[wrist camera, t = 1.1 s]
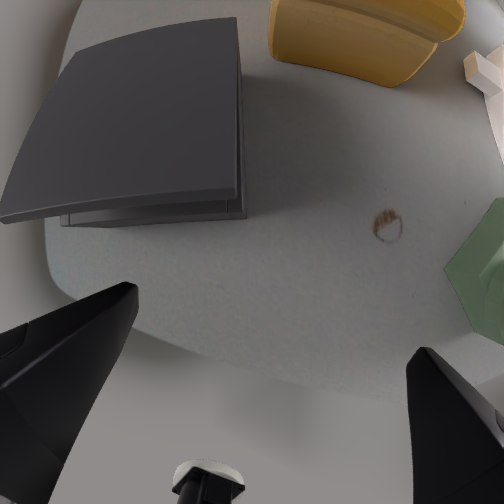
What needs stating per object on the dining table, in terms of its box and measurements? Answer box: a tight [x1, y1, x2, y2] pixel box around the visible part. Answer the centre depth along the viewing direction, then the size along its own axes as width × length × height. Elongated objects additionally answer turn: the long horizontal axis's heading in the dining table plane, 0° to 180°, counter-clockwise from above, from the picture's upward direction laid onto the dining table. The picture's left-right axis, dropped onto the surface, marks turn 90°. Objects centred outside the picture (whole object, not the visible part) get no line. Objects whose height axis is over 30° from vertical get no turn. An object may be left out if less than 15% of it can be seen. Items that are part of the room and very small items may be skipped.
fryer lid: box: [0, 17, 237, 224], centre depth 12 cm, size 13×12×1 cm
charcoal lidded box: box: [60, 30, 247, 228], centre depth 18 cm, size 13×12×7 cm
